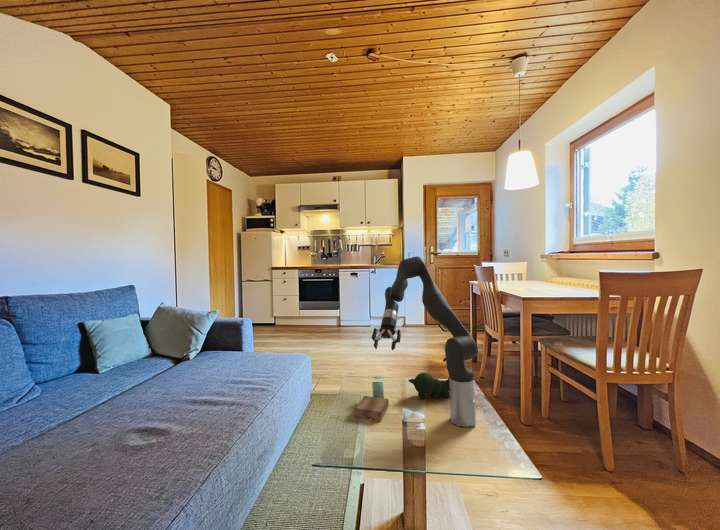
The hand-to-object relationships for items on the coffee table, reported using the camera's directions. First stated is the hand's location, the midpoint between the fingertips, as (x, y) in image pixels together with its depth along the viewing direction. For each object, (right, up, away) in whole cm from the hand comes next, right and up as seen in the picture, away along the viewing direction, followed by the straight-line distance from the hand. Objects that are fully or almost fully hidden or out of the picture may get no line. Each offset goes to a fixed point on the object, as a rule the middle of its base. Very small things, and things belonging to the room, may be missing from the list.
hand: (383, 348), depth 151 cm
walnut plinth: (-6, -21, -20) cm, 30 cm away
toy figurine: (+23, -19, -9) cm, 31 cm away
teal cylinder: (-3, -21, -10) cm, 23 cm away
